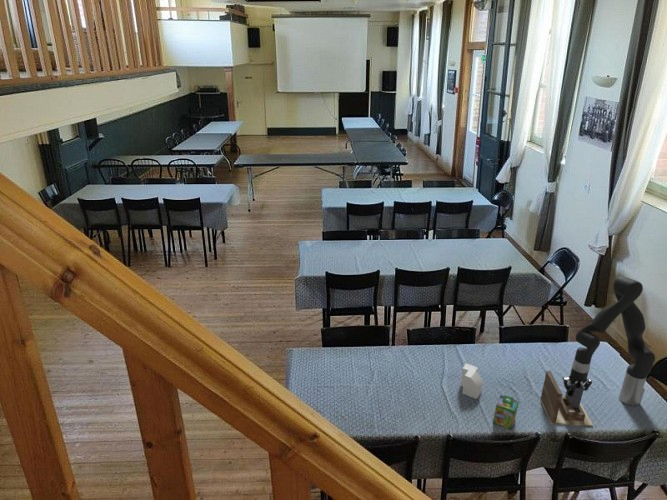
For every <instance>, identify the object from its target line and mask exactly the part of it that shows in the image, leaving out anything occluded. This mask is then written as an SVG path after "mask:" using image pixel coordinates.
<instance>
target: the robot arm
mask: <svg viewBox="0 0 667 500" xmlns="http://www.w3.org/2000/svg"><path fill="white" fill-rule="evenodd" d="M612 286H613V287H612V289H613V292H614V295H615V296H614V297H615V298H616V300H617V301H616V302H615V303H613V304H611V305H608V306H606V307H604V308H603V309H602V310H600V311H599V312H598V313H597V314H596V316H594V318H593V319H592V320H591V322H589V323H588V324H586V325H585V326H583V327H582V328H581V329H579V330H578V332H577V333H576V335H575V341H576V342H577V343H578V344H580V345H581V346H582V347H581V346H580V347H578V348H577V349H576V351H575V356H574V359H573V361H572V366H571V370H570V374H569V376H568V377H562V382H563V387H564V388H565V390H566V391H567V394H568V396H571V392H572V391H571V390H572V389H573V387H574V385H580V386H583V388H584V390H583V392H584V391H586V392H587V391H588V389H589V388H590V386H592V384H593V381H592V380H591V378H588V375H589V372H590V370H591V369H590V367H591V362H592V357H593V355H594V354H595V352H596V350H597V349H598V348H599V346H600V345H601V340H600V338H599V337H598V336H597V335H595V334H594V333H595V332H596V333H599V334H603V333H605V332H606V331H607V329H609V326H611V324H612V323H613V322H614V320H616V318H617V317H619V316H620V315H621V318H622V319H621V320H622V323H623V329H624V331H625V335H626V336H625V337H626V339H627V340H626V341H627V350H628V351H627V352H628V355H629V357H630V358H631V359H632V361H634V362H635V363H634V364H629V365H627V368H626V371H625V375H624V377H623V380H622V381H623V382H622V384H621V389H620V392H619V394H618V399H619V401H621V402H622V403H623V404H625V405H627V406H630V407H631V406H632V407H635V406H638V405H641V403H642V400H643V397H644V394H645V388H644V387H645V384H646V381H647V377H648V375H649V374H651V371H652V369H653V366H654V363H655V361H656V355H655V354H654V352H653V351H652V350H650V349H649V348H648V347H647V346H646V344H645V341H644V337H643V334H644V332H645V331H646V321H645V317H644V314H643V313H642V311H641V309H640V308H639V306H638V305H637V304H636V303H635V301H636V300H637V299H638V298H639V297H640V296H641V295H642V292H643V290H644V286H643V284H642V283H641V282H639V281H638V280H635V279H632V278H630V277H627V276H618V277H617V278H616V279H615V280H614V282H613V285H612ZM569 380H570V382H569ZM568 383H569V385H568Z"/></svg>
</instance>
